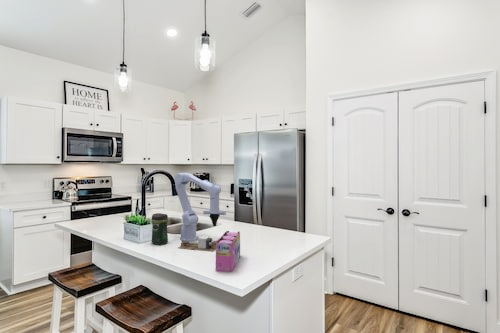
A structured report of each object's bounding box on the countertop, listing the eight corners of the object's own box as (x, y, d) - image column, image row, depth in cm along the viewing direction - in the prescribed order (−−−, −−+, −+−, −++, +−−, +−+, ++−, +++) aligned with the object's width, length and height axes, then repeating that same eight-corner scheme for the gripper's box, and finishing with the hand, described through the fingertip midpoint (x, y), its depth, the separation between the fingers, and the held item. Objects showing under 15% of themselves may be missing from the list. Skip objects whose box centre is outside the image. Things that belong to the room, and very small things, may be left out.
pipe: (181, 244, 172) (181, 240, 172) (183, 243, 174) (183, 239, 174) (214, 247, 167) (214, 243, 167) (215, 246, 169) (215, 242, 169)
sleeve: (197, 248, 168) (197, 238, 168) (201, 245, 173) (201, 236, 173) (205, 248, 166) (205, 238, 166) (209, 246, 171) (209, 236, 171)
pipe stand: (178, 248, 169) (178, 241, 169) (185, 244, 177) (185, 237, 177) (213, 251, 163) (213, 243, 163) (218, 246, 172) (218, 239, 172)
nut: (205, 248, 166) (205, 240, 166) (209, 246, 172) (209, 238, 171) (208, 248, 166) (208, 240, 166) (211, 246, 171) (211, 238, 171)
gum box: (226, 254, 158) (227, 230, 158) (241, 255, 157) (241, 230, 156) (215, 271, 134) (215, 242, 134) (231, 272, 133) (231, 243, 133)
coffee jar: (170, 242, 180) (170, 213, 180) (160, 246, 173) (160, 215, 173) (158, 240, 185) (158, 211, 184) (149, 243, 178) (149, 213, 177)
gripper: (201, 204, 179) (201, 226, 179) (223, 205, 176) (223, 228, 176) (205, 203, 186) (205, 224, 186) (227, 204, 182) (227, 225, 183)
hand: (214, 225), depth 182 cm, fingers closed
